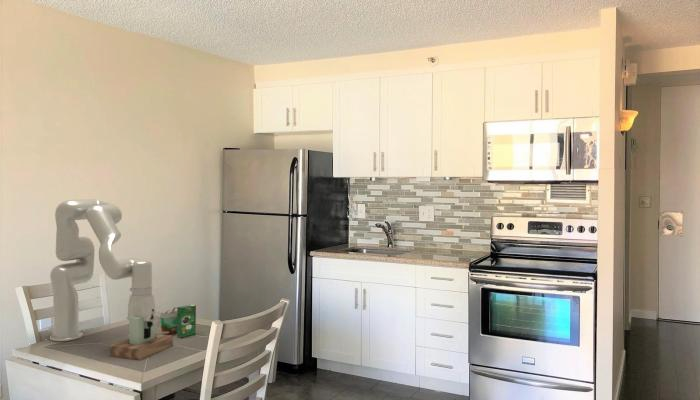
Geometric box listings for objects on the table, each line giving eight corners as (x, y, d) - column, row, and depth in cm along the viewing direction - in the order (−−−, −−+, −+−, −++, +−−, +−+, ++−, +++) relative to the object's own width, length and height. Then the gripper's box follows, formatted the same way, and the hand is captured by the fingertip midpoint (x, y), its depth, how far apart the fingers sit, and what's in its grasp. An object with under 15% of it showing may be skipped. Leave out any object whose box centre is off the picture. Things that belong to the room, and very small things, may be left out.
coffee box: (192, 333, 251) (192, 303, 250) (196, 334, 249) (196, 304, 248) (176, 336, 245) (176, 306, 244) (180, 338, 243) (180, 307, 242)
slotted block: (109, 356, 218) (109, 345, 218) (144, 341, 237) (144, 332, 237) (140, 360, 214) (140, 349, 214) (172, 345, 233) (172, 335, 233)
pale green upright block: (129, 348, 221) (129, 317, 221) (146, 341, 231) (146, 312, 230) (138, 349, 220) (137, 318, 219) (154, 342, 229) (154, 312, 229)
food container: (173, 337, 245) (172, 314, 244) (159, 336, 246) (159, 313, 245) (186, 329, 257) (186, 307, 256) (174, 328, 258) (174, 306, 258)
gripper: (117, 291, 223) (118, 338, 224) (153, 294, 218) (154, 342, 219) (130, 288, 231) (131, 333, 231) (165, 291, 225) (166, 336, 226)
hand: (142, 336), depth 225 cm, fingers closed on pale green upright block, 4 cm apart
